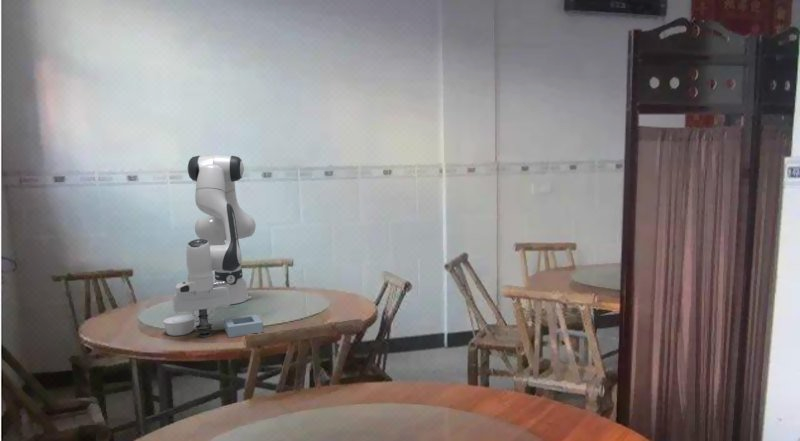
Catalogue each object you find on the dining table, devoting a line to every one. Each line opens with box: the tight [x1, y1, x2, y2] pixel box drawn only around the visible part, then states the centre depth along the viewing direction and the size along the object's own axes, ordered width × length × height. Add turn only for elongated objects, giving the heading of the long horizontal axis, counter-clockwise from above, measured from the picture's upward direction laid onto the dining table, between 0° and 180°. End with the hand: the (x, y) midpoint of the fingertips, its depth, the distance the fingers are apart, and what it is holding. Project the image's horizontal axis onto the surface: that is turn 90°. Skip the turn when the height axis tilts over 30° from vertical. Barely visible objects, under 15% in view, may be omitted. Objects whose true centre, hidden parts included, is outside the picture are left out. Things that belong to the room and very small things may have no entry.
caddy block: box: [223, 313, 264, 339], centre depth 235 cm, size 12×12×4 cm
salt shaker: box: [195, 309, 213, 339], centre depth 230 cm, size 6×6×12 cm
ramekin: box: [162, 314, 195, 337], centre depth 236 cm, size 11×11×5 cm
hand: (203, 320), depth 230 cm, fingers closed on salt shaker, 4 cm apart
